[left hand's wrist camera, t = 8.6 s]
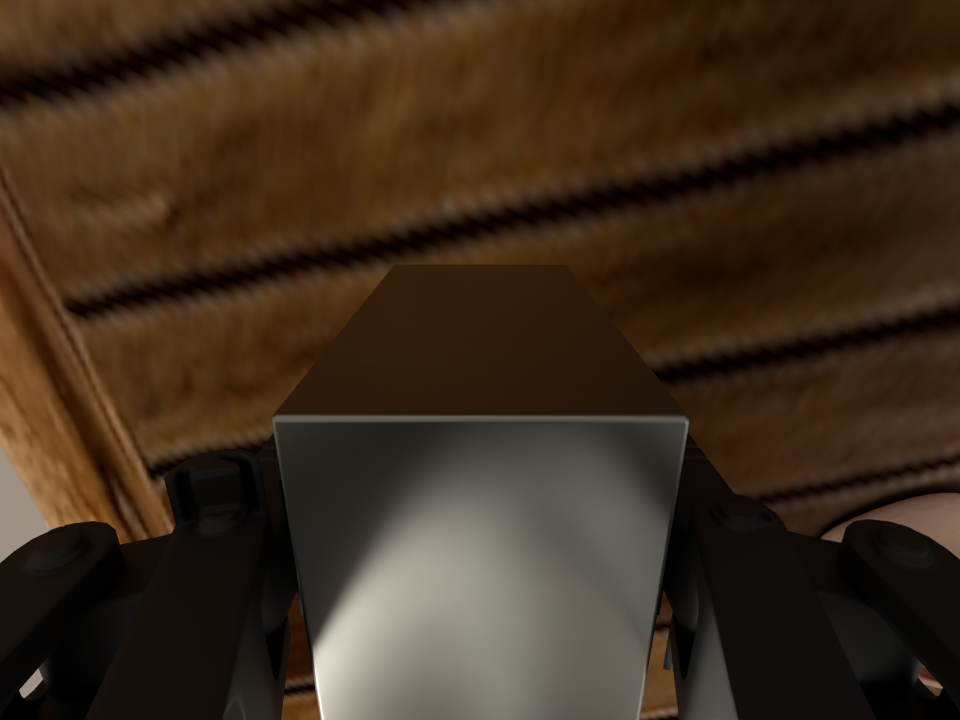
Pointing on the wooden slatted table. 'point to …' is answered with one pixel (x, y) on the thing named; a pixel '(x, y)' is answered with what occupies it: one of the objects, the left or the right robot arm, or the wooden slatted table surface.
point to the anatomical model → (918, 529)
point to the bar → (480, 501)
